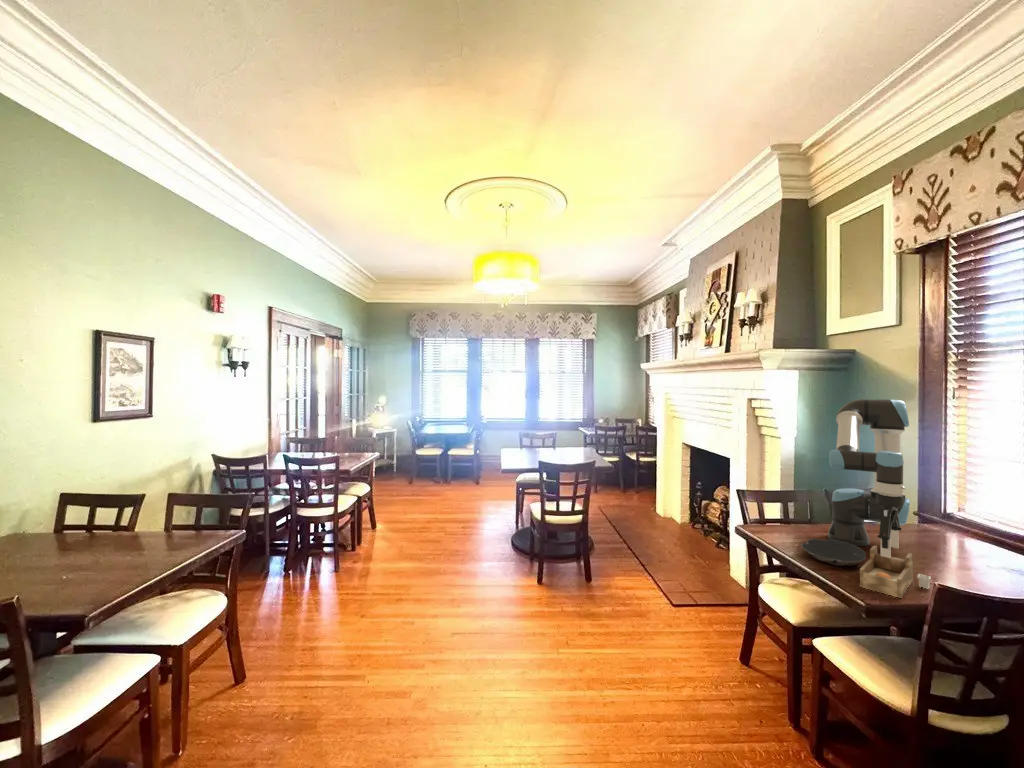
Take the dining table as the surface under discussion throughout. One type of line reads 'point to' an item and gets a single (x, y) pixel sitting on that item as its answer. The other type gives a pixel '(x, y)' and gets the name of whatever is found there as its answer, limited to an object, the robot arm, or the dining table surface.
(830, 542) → the board
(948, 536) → the dining table surface
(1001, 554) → the dining table surface
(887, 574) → the ball
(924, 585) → the grey egg cup
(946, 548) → the dining table surface
